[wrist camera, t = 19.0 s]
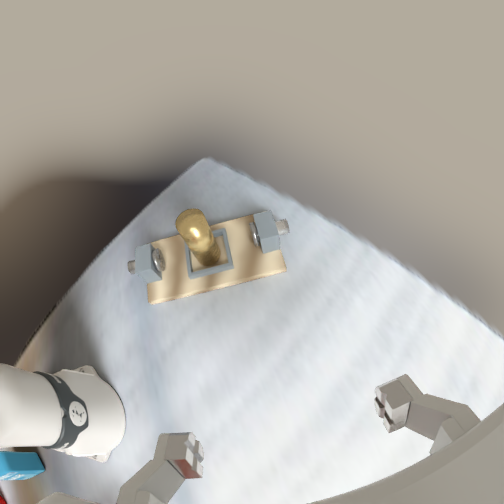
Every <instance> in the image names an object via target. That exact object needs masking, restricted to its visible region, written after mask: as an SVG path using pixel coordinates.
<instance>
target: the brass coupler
mask: <svg viewBox="0 0 504 504" xmlns="http://www.w3.org/2000/svg"><path fill="white" fill-rule="evenodd" d="M176 228H177V230H178V232H179V233H180V235H181V236H182V238H183V239H184V241H185V243H186V244H187V246H188V247H189V249H190V250H191V252H192V253H193V255H194V256H195V258H196V259H197V261H198V262H199V263H200V264H201V265H203V266H210V265H213V264H215V263H216V262H217V261H218V260H219V258H220V256H221V250H220V248H219V246H218V244H217V242H216V240H215V237H214V235H213V233H212V231H211V229H210V227H209V225H208V223H207V220H206V218H205V216H204V214H203V212H202V211H200V210H199V209H188V210H186V211H184V212H182V213H181V214H180V215H179V216H178V218H177V220H176Z"/></svg>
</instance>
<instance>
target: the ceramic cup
mask: <svg viewBox="0 0 504 504" xmlns="http://www.w3.org/2000/svg"><path fill="white" fill-rule="evenodd" d="M0 504H6V502H5V500H4V499H3V498H2V497H1V496H0Z"/></svg>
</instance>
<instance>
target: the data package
mask: <svg viewBox="0 0 504 504" xmlns="http://www.w3.org/2000/svg"><path fill="white" fill-rule="evenodd" d="M44 471H45V469H44V467H43V465H42V463H41V461H40V459H39V457H38V454H37V453H36V452H9V451H0V480H24V479H29V478H31V477H33V476H35V475H38V474H40V473H42V472H44Z"/></svg>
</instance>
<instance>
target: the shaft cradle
mask: <svg viewBox="0 0 504 504" xmlns="http://www.w3.org/2000/svg"><path fill="white" fill-rule="evenodd" d="M209 227H210V229H211V231H212V233H213V235H214V237H215V240H216V242H217V244H218V246H219V248H220V250H221V256H220V258H219V260H218V261H217V262H216V263H215V264H213V265H210V266H203V265H201V264H200V263H199V262H198V261H197V259H196V258H195V256H194V255H193V253H192V252H191V250H190V249H189V247H188V246H187V244H186V243H185V241H184V239H183V238H182V236H181V235H180V234H179V235H175V236H172V237H168V238H165V239H162V240H158V241H155V242H151V243H148V244H145V245H142V246H139V247H135V260H132V261H129V262H128V270H129V272H130V273H131V274H137V275H138V276H139V277H140V278H141V279H143V280H144V281H145V282H146V283H147V289H148V302H149V303H150V304H152V305H153V304H157V303H162V302H166V301H170V300H175V299H179V298H183V297H187V296H191V295H196V294H200V293H204V292H208V291H212V290H216V289H220V288H224V287H228V286H232V285H236V284H240V283H244V282H248V281H252V280H256V279H259V278H263V277H267V276H271V275H275V274H278V273H282V272H286V265H285V262H284V259H283V256H282V253H281V250H280V238H279V236H280V235H284V234H287V233H289V226H288V223H287V220H286V219H283V220H279V221H274V218H273V215H272V212H271V210H269V211H264V212H260V213H256V214H252V215H249V216H245V217H241V218H237V219H233V220H230V221H226V222H222V223H218V224H215V225H211V226H209Z"/></svg>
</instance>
